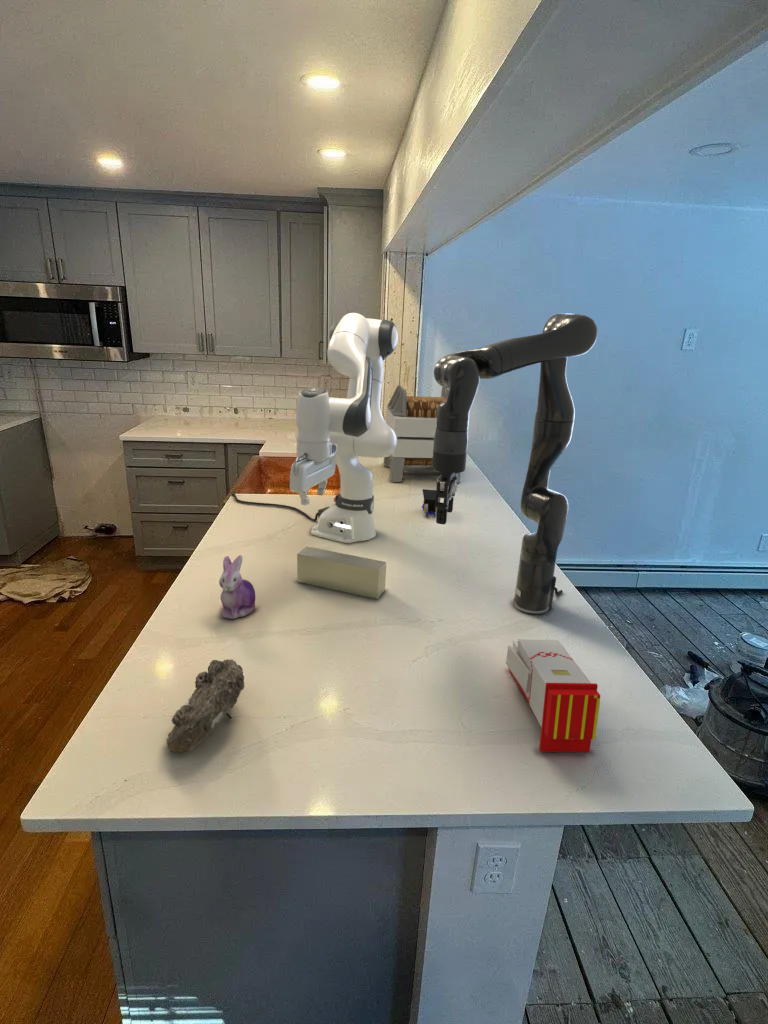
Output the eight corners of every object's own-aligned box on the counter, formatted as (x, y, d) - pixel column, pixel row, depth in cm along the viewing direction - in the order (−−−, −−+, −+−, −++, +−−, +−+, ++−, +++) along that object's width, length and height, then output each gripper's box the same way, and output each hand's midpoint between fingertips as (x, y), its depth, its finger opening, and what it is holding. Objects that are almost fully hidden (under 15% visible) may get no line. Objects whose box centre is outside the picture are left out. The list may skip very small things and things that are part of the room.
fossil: (192, 660, 117) (244, 628, 112) (224, 691, 120) (276, 661, 115) (142, 746, 98) (202, 712, 93) (182, 779, 101) (242, 748, 96)
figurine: (224, 623, 139) (221, 568, 134) (215, 604, 148) (212, 552, 142) (262, 616, 143) (260, 562, 138) (251, 598, 152) (249, 546, 147)
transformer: (382, 463, 289) (386, 382, 275) (445, 464, 293) (451, 384, 279) (390, 482, 257) (394, 392, 243) (460, 483, 261) (468, 394, 247)
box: (297, 581, 162) (296, 553, 159) (306, 573, 167) (306, 546, 165) (377, 599, 154) (378, 570, 151) (385, 590, 160) (386, 561, 157)
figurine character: (440, 522, 216) (436, 505, 230) (442, 504, 213) (438, 488, 226) (422, 521, 216) (419, 504, 229) (424, 503, 213) (421, 487, 226)
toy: (554, 622, 128) (610, 691, 98) (548, 677, 130) (601, 759, 101) (501, 621, 127) (541, 690, 98) (496, 676, 130) (534, 758, 101)
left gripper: (305, 460, 140) (305, 512, 145) (340, 444, 159) (339, 491, 163) (283, 457, 142) (284, 508, 147) (319, 441, 161) (319, 488, 165)
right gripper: (462, 458, 118) (455, 530, 124) (471, 444, 131) (465, 510, 137) (427, 454, 120) (422, 525, 126) (439, 440, 133) (434, 506, 138)
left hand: (313, 499), depth 155 cm, fingers open, 8 cm apart
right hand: (444, 517), depth 131 cm, fingers open, 8 cm apart
